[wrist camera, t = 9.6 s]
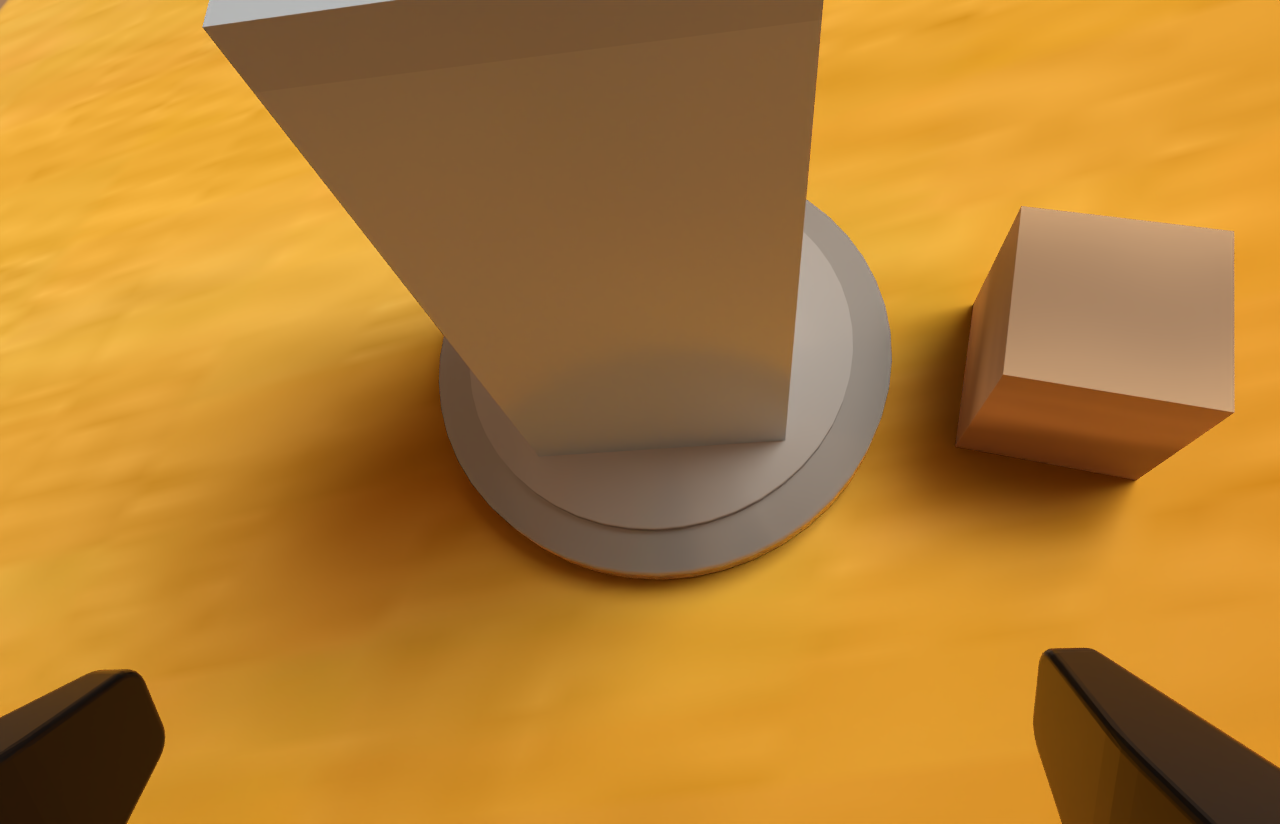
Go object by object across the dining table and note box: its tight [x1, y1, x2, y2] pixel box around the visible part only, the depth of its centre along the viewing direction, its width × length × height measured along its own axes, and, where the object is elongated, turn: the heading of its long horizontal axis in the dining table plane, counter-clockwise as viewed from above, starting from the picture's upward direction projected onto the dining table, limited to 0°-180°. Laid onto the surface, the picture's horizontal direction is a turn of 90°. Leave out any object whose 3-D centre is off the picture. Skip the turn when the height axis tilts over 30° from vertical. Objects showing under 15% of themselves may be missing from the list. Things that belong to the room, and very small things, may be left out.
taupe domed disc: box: [439, 200, 892, 580], centre depth 19 cm, size 11×11×1 cm
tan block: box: [955, 206, 1234, 480], centre depth 17 cm, size 4×4×4 cm
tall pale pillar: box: [203, 0, 823, 457], centre depth 13 cm, size 6×6×12 cm
